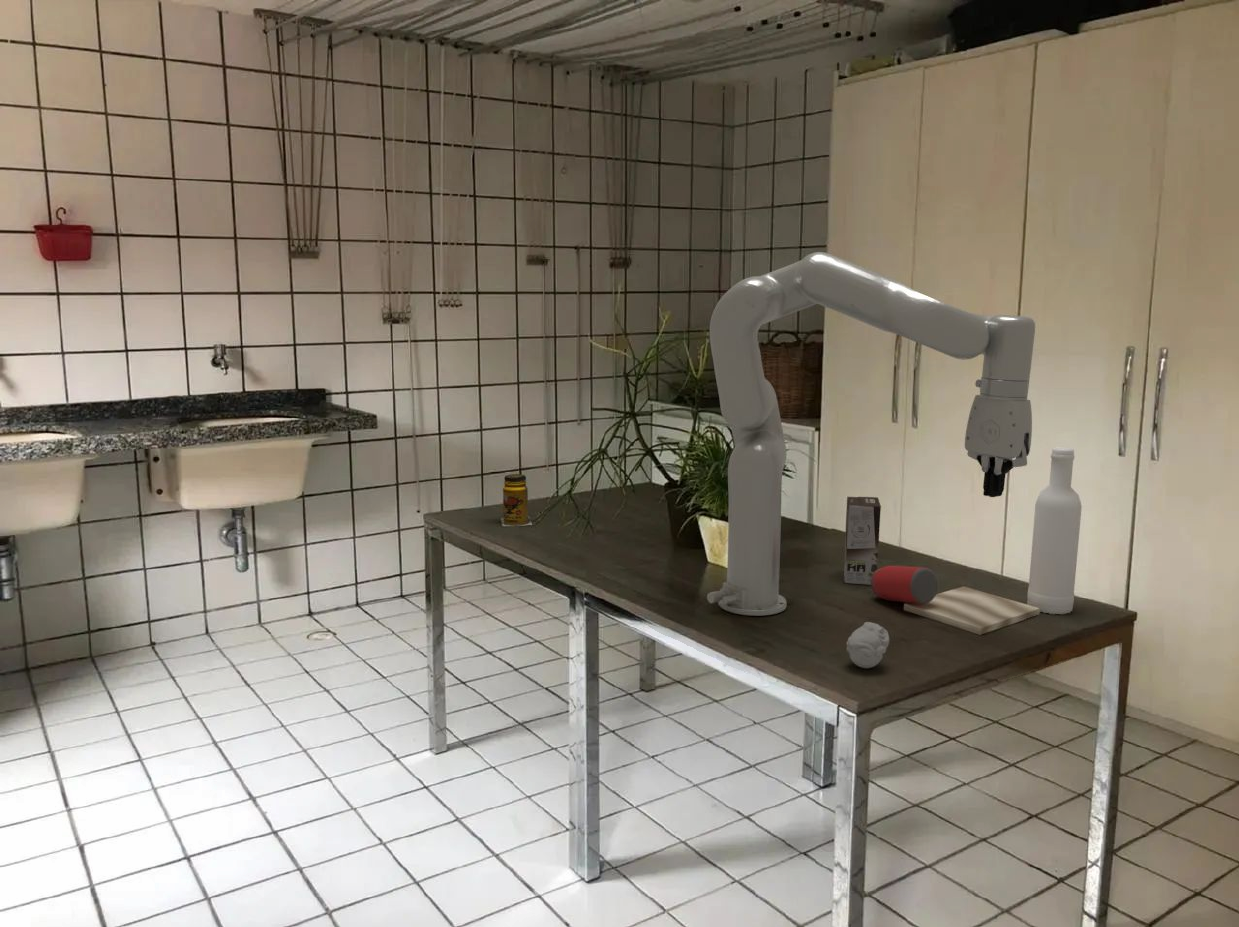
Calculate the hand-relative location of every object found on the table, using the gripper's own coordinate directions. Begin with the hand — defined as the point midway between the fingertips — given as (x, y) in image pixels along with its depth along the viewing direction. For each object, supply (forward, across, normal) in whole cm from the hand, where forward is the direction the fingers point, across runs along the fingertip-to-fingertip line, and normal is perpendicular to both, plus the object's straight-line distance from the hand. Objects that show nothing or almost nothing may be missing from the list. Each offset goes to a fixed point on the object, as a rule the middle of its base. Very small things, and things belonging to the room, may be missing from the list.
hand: (992, 495), depth 172 cm
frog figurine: (+24, +1, -32) cm, 40 cm away
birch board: (+23, -4, +4) cm, 24 cm away
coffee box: (+24, -30, +4) cm, 39 cm away
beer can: (+18, -9, -4) cm, 20 cm away
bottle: (+23, +3, +18) cm, 30 cm away
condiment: (+27, -112, -28) cm, 118 cm away
